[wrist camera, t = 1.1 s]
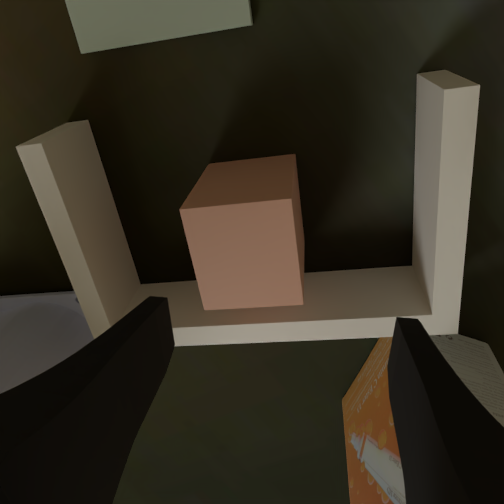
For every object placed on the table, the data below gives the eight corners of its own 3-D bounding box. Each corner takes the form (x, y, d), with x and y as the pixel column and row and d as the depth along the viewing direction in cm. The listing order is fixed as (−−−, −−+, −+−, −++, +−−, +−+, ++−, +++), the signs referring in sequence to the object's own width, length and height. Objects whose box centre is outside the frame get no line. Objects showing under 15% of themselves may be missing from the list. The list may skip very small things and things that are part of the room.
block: (226, 247, 25) (204, 310, 20) (208, 163, 23) (179, 209, 18) (304, 241, 24) (303, 304, 19) (295, 153, 22) (291, 198, 17)
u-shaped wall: (128, 301, 28) (98, 349, 24) (66, 122, 22) (15, 146, 19) (434, 282, 25) (457, 333, 21) (445, 69, 19) (480, 85, 15)
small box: (390, 310, 26) (455, 545, 14) (490, 341, 26) (630, 596, 15) (338, 399, 30) (357, 639, 18) (425, 426, 30) (495, 677, 19)
